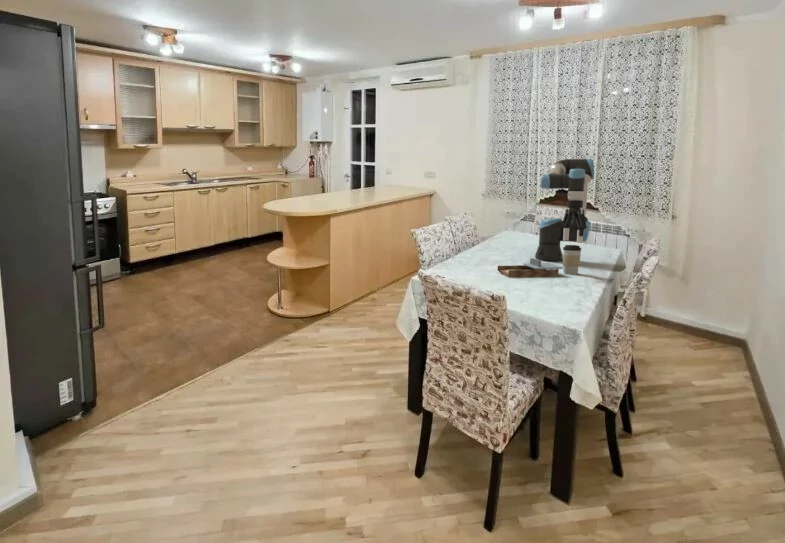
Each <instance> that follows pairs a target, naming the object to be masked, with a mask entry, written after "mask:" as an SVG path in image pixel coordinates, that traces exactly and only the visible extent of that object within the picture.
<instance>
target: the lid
mask: <svg viewBox="0 0 785 543" xmlns="http://www.w3.org/2000/svg"><path fill="white" fill-rule="evenodd" d="M523 265H525V266H528V267H531V268H534V269H559V270H563V266H560V265H556V264H553V263H551V262H542V260H540V259H536V258H534V257H533V258H532V257H530V258H529V262H525V263H523Z"/></svg>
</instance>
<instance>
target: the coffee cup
mask: <svg viewBox="0 0 785 543" xmlns="http://www.w3.org/2000/svg"><path fill="white" fill-rule="evenodd" d="M581 253H582V248H581V247H580V245H576V244H565V245H564V247H562V255H563V259H562V265H563V266H562V267H563V269H562V270H563V274H564V273H565V274H564V275H569V276H571V275H572V276H573V275H578V273H579V267H580V262H581V261H580V260H581Z"/></svg>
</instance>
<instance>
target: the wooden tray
mask: <svg viewBox="0 0 785 543" xmlns="http://www.w3.org/2000/svg"><path fill="white" fill-rule="evenodd" d="M497 270H498V271H499V272H500V273H501V274H500V273H499V274H500V275H503V276H505V277H507V278H544V277H545V278H546V277H548V278H550V277H559V270H560V269H534V268H531V267H528V266H525V265H517V264H516V265H497Z"/></svg>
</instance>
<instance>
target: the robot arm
mask: <svg viewBox="0 0 785 543" xmlns="http://www.w3.org/2000/svg"><path fill="white" fill-rule="evenodd" d="M594 177H595V164H594V160H593V159H592V158H585V157H584V158H570V159H569V158H566V159H565V158H564V159H562V160H561V159H560V160H557V161H555V162H554V163H552V164H551V165H550V166H549V168H548V173H546V174H542V175H541V176H540V188H541V189H546V190H548V189H554V190H555V189H561V190H563V189H565V190H566V189H568V190H567V191H568V192H567V199H568V200H567V203H566V207H567V208H568V209H565V210H564V211H565V212H564V216H563V218H561V217H558V218H557V217H556V218H555V217H554V218H547V219H542V220H541V221H540V223H539V238H538V239H539V240H538V246H537V250H536V252H535V253H534V254H535V255H534V259H536V260H540V261H563V250H562V248H561V242H573V243H577V244H578V243H579V244H581V243H584V242H585V243H586V242H587V241H588V238H589V235H590V229H591V221H589V218H588V217H587V215H586V213H587V201H588V192H589V191H588V190H589V184H590V183H591V182H592V180H593V179H595V178H594Z"/></svg>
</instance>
